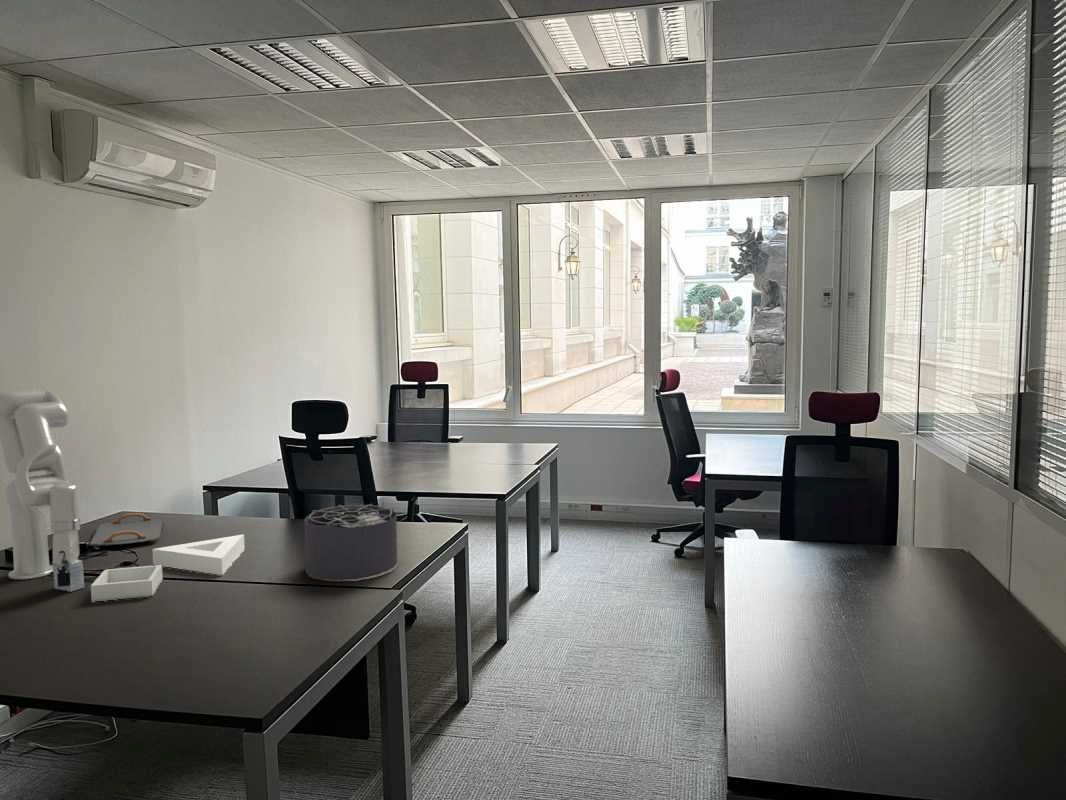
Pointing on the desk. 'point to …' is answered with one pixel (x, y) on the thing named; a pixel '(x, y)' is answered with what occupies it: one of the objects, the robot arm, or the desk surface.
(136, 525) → the serving board
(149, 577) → the box
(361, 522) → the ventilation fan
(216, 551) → the triangular ruler
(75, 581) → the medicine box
